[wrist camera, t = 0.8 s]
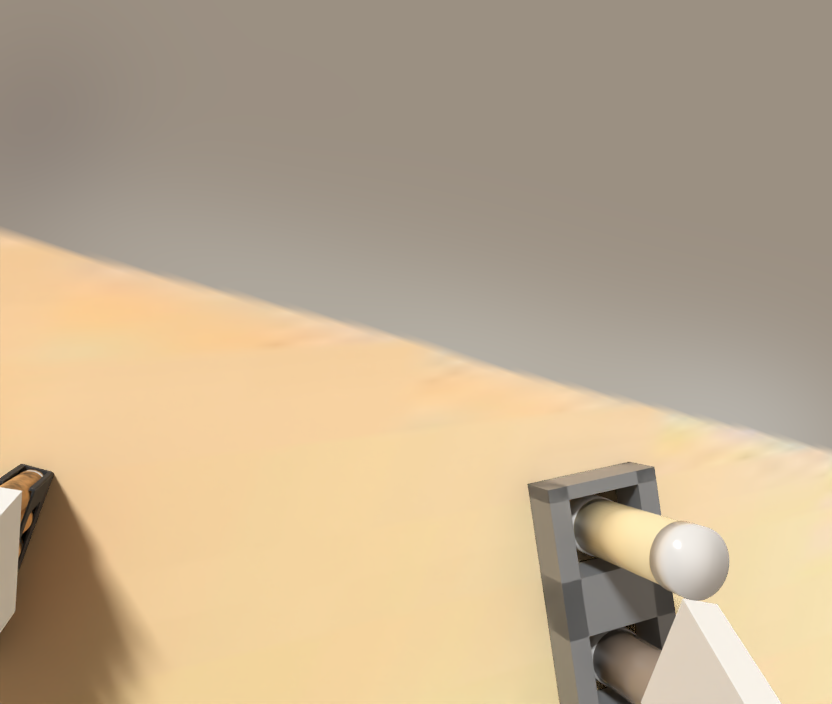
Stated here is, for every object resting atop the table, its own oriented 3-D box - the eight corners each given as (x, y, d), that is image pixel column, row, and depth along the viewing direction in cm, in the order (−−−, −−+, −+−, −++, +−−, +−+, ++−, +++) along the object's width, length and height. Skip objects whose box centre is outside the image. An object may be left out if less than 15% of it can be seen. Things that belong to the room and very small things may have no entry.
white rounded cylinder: (615, 544, 53) (734, 590, 41) (565, 556, 52) (672, 608, 40) (607, 488, 53) (723, 519, 41) (557, 499, 52) (661, 535, 40)
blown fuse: (633, 669, 53) (757, 751, 42) (584, 685, 52) (696, 773, 40) (625, 614, 53) (746, 680, 42) (575, 628, 52) (685, 700, 40)
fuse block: (661, 683, 54) (687, 700, 51) (561, 715, 51) (583, 735, 48) (629, 461, 53) (654, 466, 51) (527, 483, 51) (547, 490, 48)
